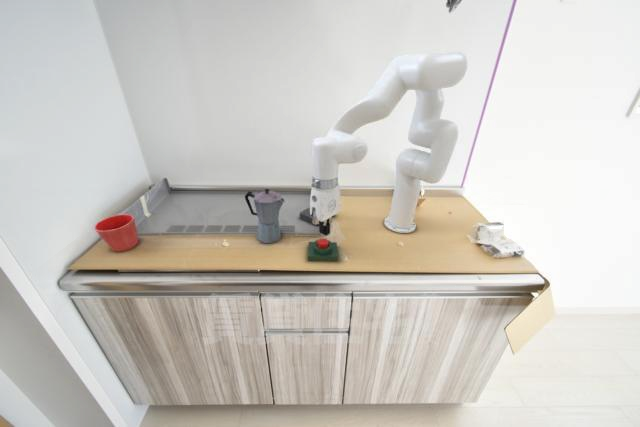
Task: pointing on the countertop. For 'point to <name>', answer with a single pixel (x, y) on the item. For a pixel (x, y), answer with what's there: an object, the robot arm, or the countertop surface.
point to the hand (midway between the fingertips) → (324, 233)
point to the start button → (322, 243)
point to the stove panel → (307, 216)
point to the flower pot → (118, 232)
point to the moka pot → (267, 214)
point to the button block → (323, 252)
